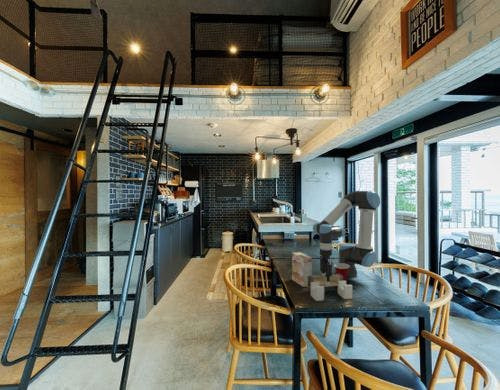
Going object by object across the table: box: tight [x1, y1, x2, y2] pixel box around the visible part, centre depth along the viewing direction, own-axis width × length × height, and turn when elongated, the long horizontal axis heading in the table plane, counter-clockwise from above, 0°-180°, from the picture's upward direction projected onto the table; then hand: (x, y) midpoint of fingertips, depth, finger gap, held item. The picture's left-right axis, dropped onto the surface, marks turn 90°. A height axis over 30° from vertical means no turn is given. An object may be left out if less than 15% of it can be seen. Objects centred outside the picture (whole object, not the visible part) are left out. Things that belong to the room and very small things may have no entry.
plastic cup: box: [333, 262, 350, 281], centre depth 175 cm, size 11×11×12 cm
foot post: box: [337, 280, 353, 300], centre depth 151 cm, size 8×5×8 cm, turn 9°
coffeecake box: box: [291, 251, 313, 288], centre depth 172 cm, size 15×7×20 cm, turn 21°
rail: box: [307, 273, 343, 289], centre depth 159 cm, size 4×22×6 cm, turn 99°
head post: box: [310, 282, 325, 302], centre depth 149 cm, size 8×5×8 cm, turn 9°
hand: (325, 284), depth 159 cm, fingers closed on rail, 4 cm apart
